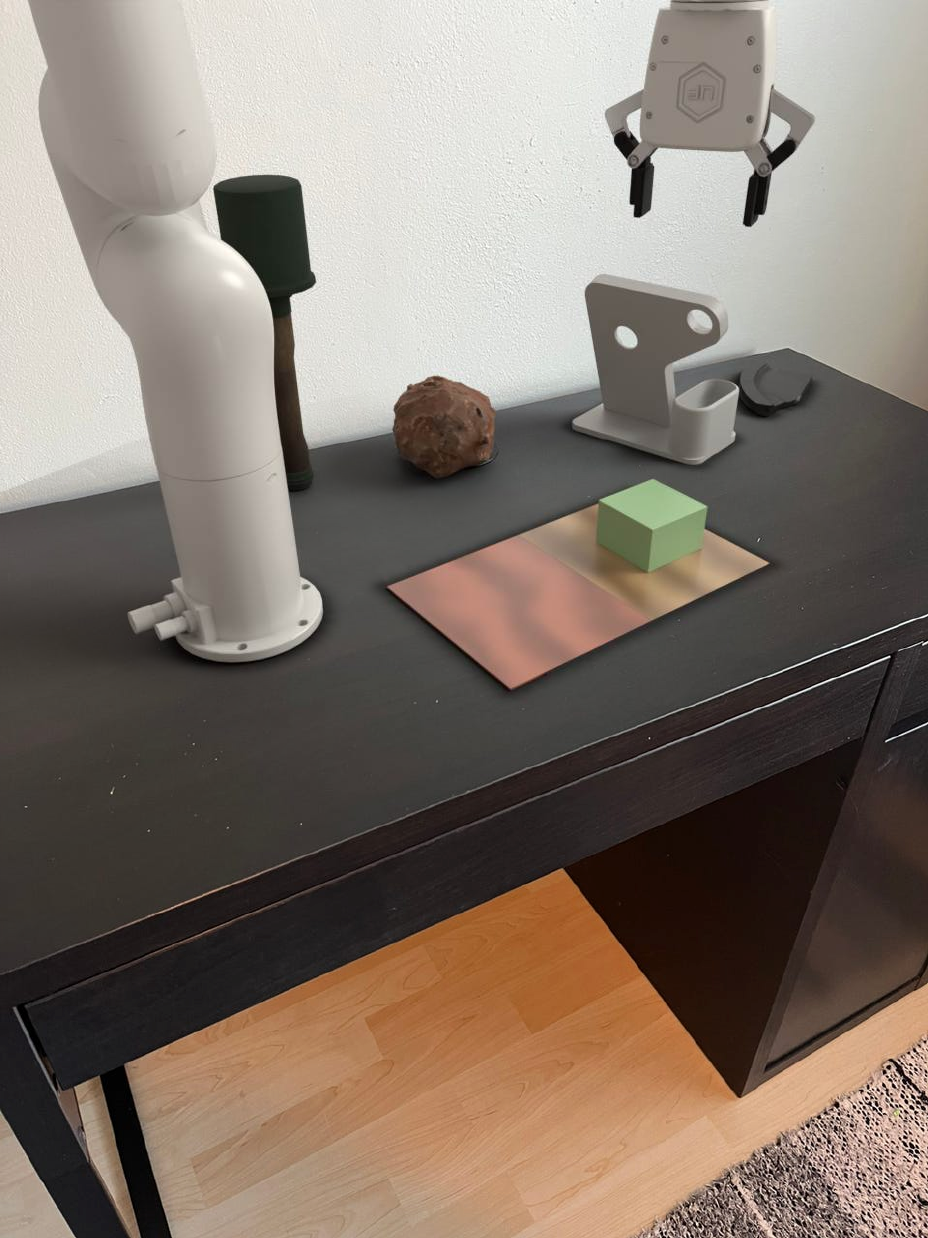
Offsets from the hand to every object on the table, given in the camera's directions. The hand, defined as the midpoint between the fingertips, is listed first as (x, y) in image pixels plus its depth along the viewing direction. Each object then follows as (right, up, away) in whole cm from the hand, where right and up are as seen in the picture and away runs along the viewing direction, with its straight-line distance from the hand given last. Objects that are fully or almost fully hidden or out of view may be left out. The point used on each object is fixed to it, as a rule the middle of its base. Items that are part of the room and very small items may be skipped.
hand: (695, 218), depth 84 cm
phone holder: (+2, -14, +27) cm, 30 cm away
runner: (-10, -31, +2) cm, 33 cm away
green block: (-3, -28, +6) cm, 29 cm away
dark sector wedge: (+18, -7, +36) cm, 41 cm away
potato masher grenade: (-38, -21, +18) cm, 47 cm away
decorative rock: (-23, -19, +21) cm, 36 cm away
